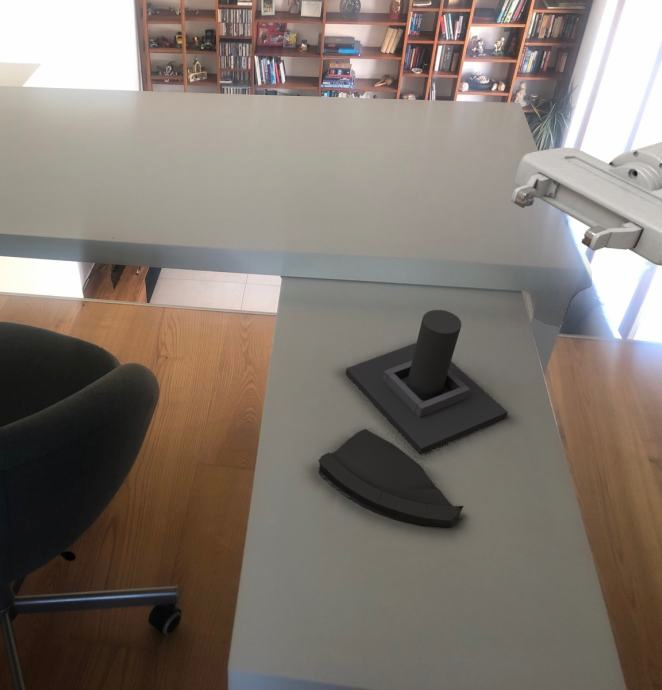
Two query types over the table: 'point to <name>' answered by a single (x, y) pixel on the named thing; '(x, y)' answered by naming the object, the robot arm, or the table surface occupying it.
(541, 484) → the table surface
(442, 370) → the dark cylindrical post
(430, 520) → the dark sector wedge
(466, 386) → the base pad
